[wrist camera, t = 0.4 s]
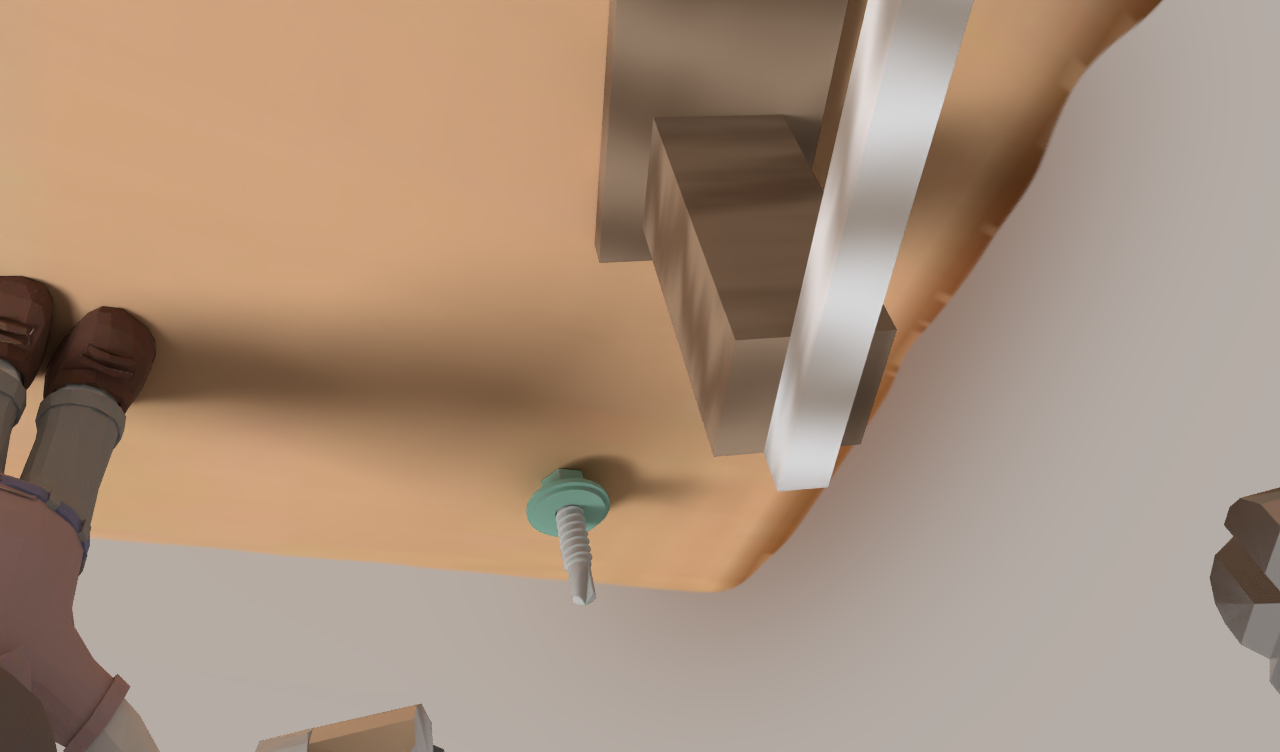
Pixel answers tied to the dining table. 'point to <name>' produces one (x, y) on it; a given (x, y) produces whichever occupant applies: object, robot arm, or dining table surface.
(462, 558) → the dining table surface
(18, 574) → the figurine
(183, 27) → the dining table surface
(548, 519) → the screw
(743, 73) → the shelf
